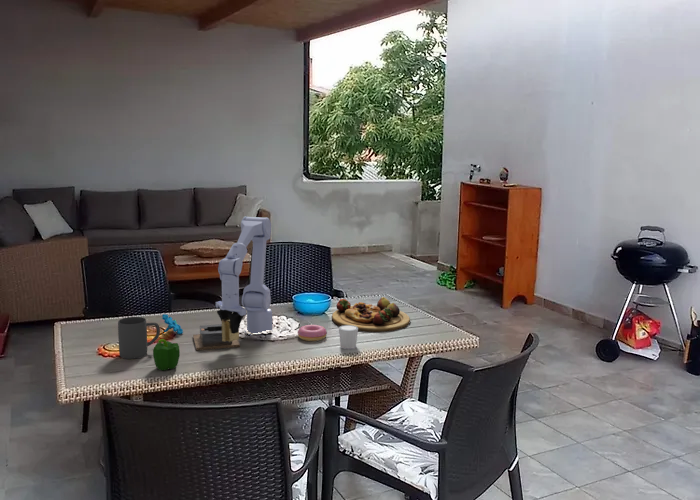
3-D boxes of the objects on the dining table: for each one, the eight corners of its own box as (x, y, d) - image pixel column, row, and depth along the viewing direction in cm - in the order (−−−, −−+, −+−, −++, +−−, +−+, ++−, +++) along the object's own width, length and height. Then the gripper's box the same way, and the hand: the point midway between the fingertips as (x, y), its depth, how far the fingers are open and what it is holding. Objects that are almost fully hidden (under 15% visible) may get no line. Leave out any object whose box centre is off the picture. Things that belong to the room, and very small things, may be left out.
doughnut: (307, 331, 249) (307, 321, 248) (332, 336, 244) (332, 325, 243) (291, 339, 239) (291, 328, 239) (317, 344, 234) (317, 333, 234)
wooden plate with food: (315, 321, 263) (315, 301, 262) (365, 305, 287) (365, 287, 286) (376, 340, 243) (377, 319, 241) (425, 321, 267) (426, 302, 265)
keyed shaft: (232, 336, 227) (231, 316, 225) (239, 339, 224) (238, 319, 223) (219, 339, 223) (219, 320, 222) (226, 342, 220) (226, 322, 219)
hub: (234, 334, 243) (234, 321, 242) (239, 347, 229) (239, 333, 228) (193, 337, 239) (192, 324, 238) (196, 350, 225) (196, 336, 224)
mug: (122, 361, 213) (120, 325, 211) (116, 352, 221) (115, 318, 219) (164, 354, 220) (163, 320, 218) (157, 346, 228) (155, 313, 226)
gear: (181, 334, 237) (161, 314, 236) (169, 345, 237) (150, 326, 236) (187, 329, 248) (168, 310, 247) (176, 339, 248) (157, 321, 247)
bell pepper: (175, 361, 214) (174, 332, 212) (183, 369, 207) (182, 339, 205) (149, 366, 209) (148, 336, 207) (157, 374, 202) (156, 343, 200)
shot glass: (344, 350, 228) (344, 331, 227) (335, 344, 234) (335, 326, 233) (361, 347, 231) (361, 329, 230) (352, 342, 237) (352, 323, 236)
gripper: (208, 291, 223) (208, 329, 225) (234, 299, 213) (234, 338, 216) (224, 287, 228) (225, 324, 231) (250, 295, 219) (251, 334, 221)
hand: (230, 331), depth 224 cm, fingers closed on keyed shaft, 4 cm apart
